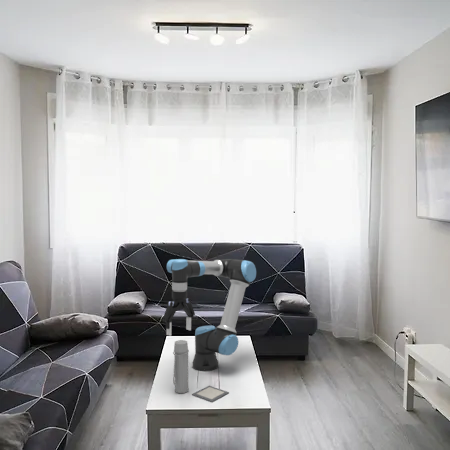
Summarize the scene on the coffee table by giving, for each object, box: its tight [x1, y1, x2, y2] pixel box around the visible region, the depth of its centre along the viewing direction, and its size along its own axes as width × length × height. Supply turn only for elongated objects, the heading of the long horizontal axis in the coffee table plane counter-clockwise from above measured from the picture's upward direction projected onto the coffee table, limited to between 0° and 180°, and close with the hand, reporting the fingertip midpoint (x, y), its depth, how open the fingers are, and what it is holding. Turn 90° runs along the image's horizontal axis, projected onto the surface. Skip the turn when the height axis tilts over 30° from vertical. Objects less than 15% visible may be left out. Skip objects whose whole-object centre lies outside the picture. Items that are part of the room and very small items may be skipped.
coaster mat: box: [191, 385, 230, 403], centre depth 224 cm, size 13×13×1 cm
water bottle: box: [172, 339, 190, 394], centre depth 226 cm, size 9×8×25 cm
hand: (178, 332), depth 227 cm, fingers open, 13 cm apart
